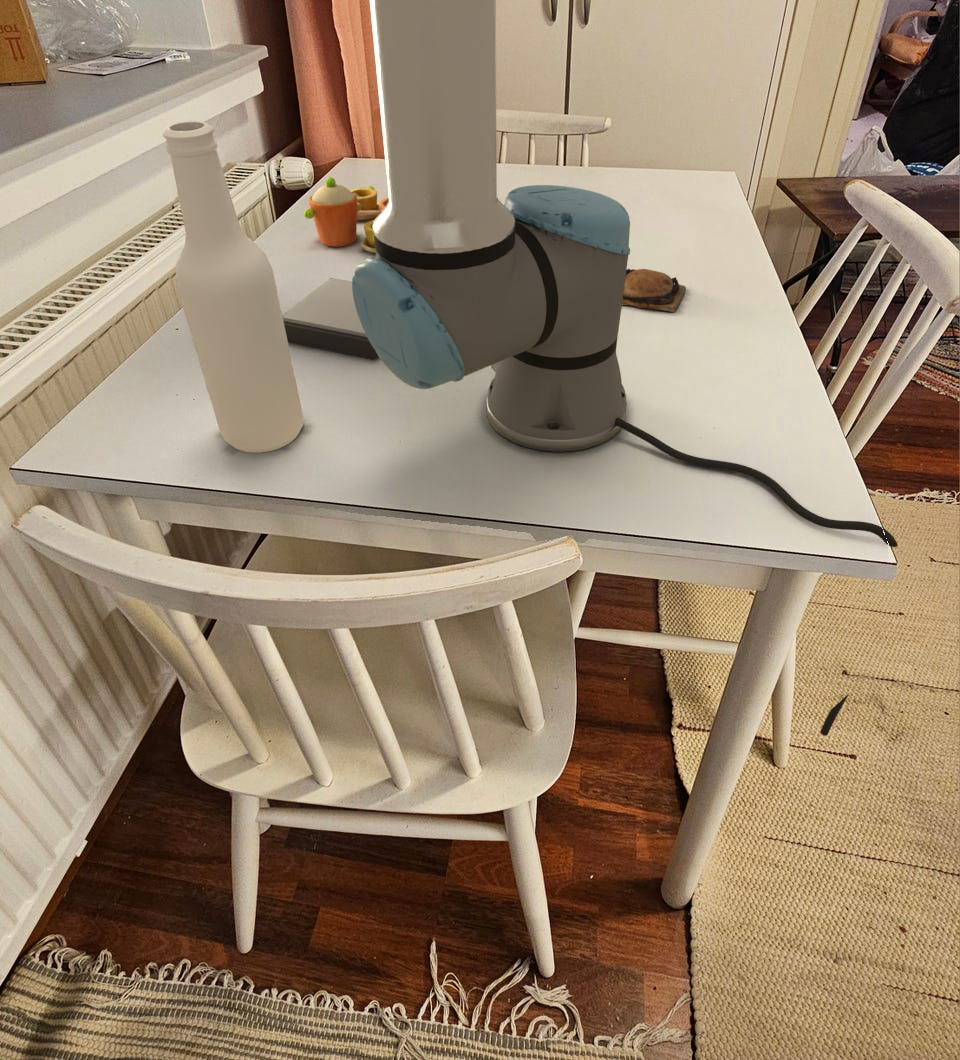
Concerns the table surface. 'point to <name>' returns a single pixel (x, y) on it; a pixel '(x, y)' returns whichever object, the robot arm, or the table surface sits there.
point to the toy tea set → (344, 213)
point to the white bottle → (231, 303)
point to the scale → (329, 321)
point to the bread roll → (652, 290)
